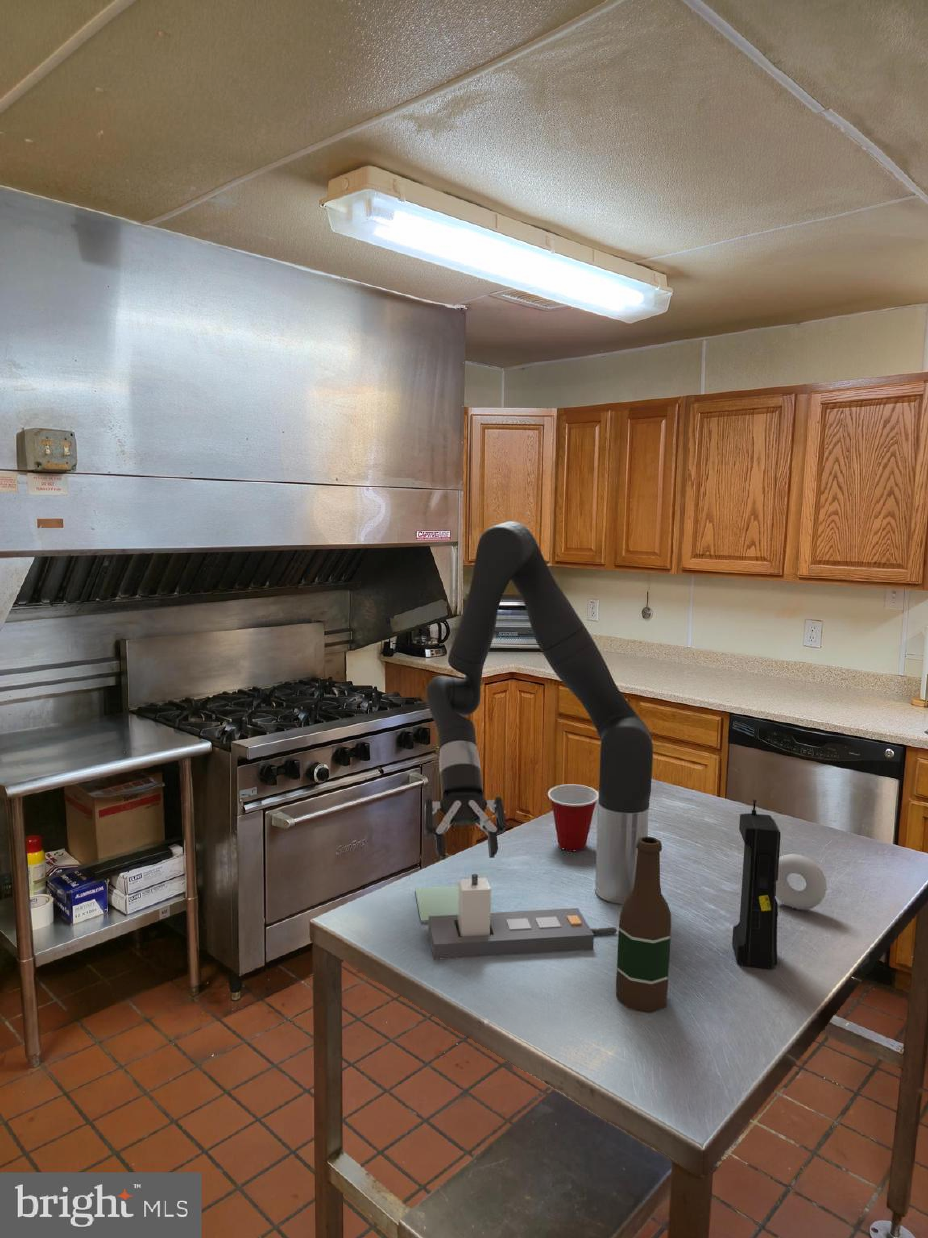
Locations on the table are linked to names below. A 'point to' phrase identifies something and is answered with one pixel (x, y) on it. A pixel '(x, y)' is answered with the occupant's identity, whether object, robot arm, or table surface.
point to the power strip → (515, 934)
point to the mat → (437, 901)
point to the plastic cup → (573, 814)
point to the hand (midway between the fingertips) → (468, 857)
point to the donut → (812, 876)
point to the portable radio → (758, 892)
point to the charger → (474, 907)
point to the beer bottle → (644, 935)
